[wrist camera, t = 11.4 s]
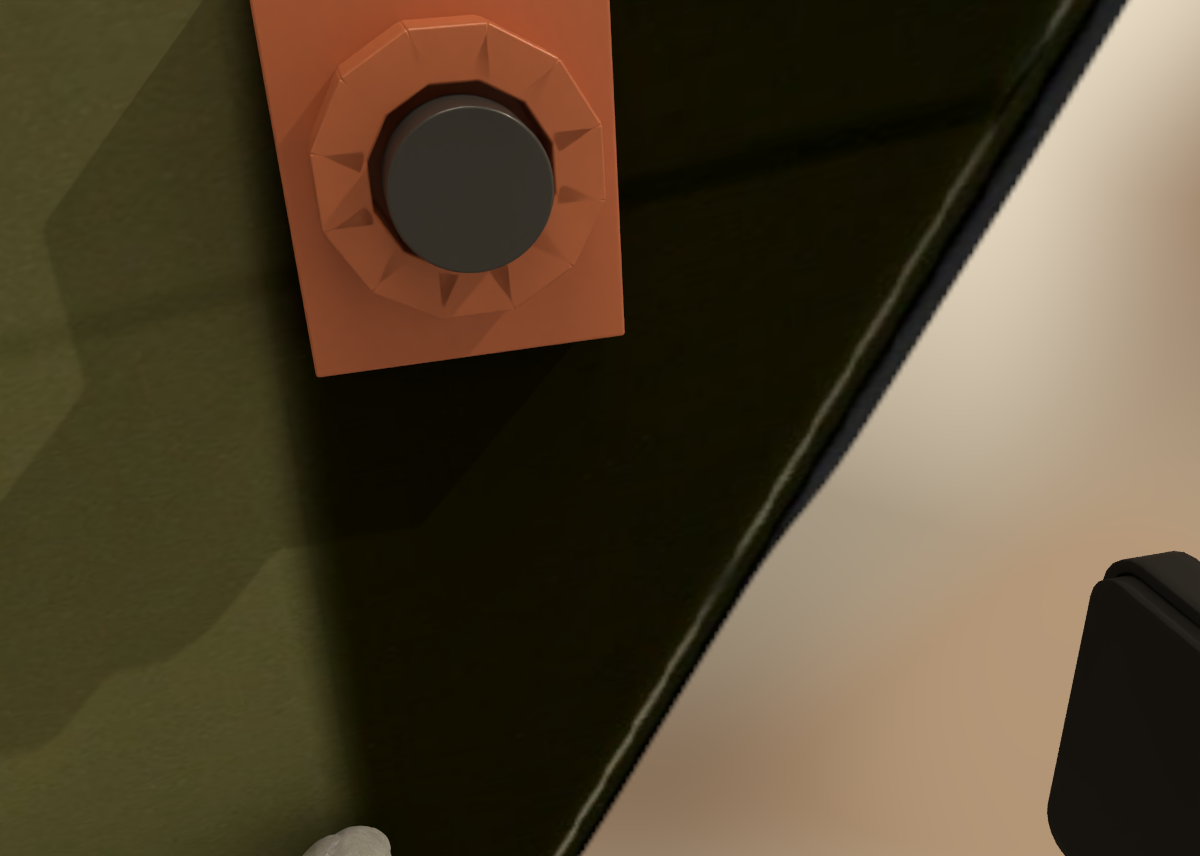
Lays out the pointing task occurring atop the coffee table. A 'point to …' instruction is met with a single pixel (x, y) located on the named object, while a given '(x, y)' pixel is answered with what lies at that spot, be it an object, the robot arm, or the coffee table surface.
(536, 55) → the timer box
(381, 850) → the fossil
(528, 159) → the timer button
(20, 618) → the coffee table surface
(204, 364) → the coffee table surface
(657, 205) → the coffee table surface
